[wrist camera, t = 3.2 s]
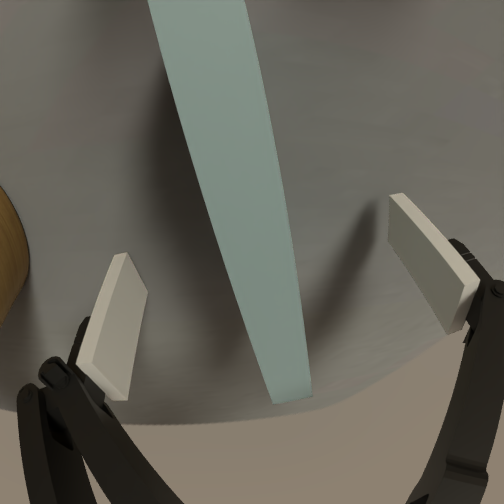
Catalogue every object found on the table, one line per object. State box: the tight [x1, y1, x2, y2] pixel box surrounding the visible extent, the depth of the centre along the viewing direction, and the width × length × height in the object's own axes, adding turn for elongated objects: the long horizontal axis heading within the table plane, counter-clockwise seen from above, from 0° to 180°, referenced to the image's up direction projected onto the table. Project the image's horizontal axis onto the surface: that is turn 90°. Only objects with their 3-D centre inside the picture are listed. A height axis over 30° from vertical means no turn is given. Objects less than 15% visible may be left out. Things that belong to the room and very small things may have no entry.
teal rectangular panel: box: [148, 0, 313, 404], centre depth 11 cm, size 2×14×8 cm, turn 11°
